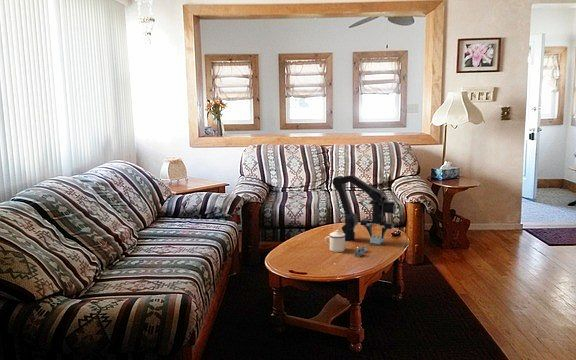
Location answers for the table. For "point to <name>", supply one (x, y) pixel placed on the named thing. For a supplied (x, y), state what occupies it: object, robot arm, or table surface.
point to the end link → (376, 239)
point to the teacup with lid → (336, 241)
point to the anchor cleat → (358, 252)
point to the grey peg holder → (377, 244)
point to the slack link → (363, 249)
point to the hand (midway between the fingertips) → (376, 237)
